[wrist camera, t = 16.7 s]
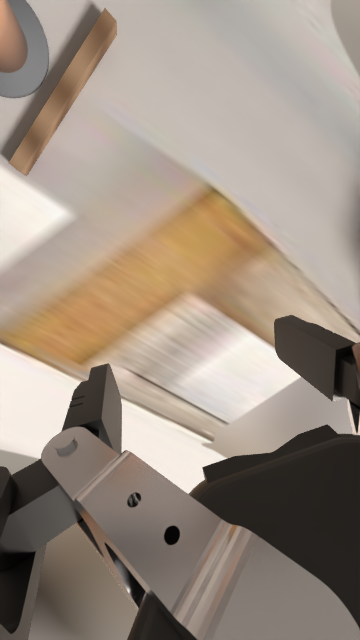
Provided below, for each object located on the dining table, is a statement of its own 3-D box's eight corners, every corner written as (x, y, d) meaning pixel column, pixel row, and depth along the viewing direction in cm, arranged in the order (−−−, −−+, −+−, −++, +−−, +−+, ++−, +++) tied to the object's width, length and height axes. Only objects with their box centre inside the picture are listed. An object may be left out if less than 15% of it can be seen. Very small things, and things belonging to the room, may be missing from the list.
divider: (26, 175, 32) (20, 172, 30) (15, 167, 32) (8, 162, 30) (116, 34, 30) (116, 21, 28) (105, 22, 29) (104, 7, 27)
